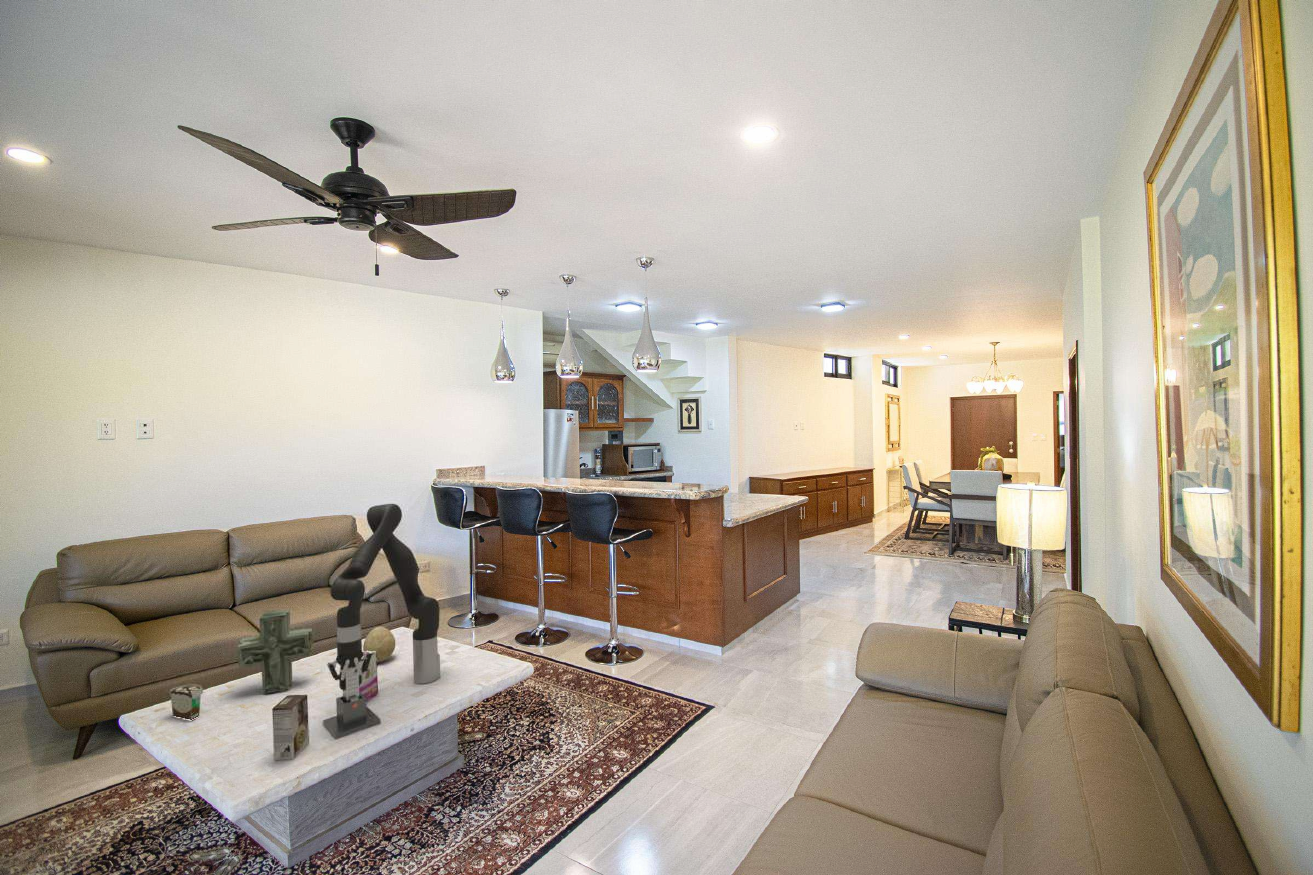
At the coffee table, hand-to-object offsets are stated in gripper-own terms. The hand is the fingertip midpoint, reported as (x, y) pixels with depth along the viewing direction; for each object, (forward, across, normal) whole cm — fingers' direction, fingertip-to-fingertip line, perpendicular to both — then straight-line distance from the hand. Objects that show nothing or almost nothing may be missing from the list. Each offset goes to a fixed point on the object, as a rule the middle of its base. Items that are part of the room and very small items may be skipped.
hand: (350, 687), depth 200 cm
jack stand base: (+13, 0, 0) cm, 13 cm away
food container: (+13, +38, -50) cm, 64 cm away
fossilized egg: (+13, -27, -51) cm, 59 cm away
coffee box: (+13, +19, +5) cm, 23 cm away
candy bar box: (+13, -9, -17) cm, 23 cm away
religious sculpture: (+13, +11, -52) cm, 55 cm away
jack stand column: (+10, 0, 0) cm, 10 cm away
